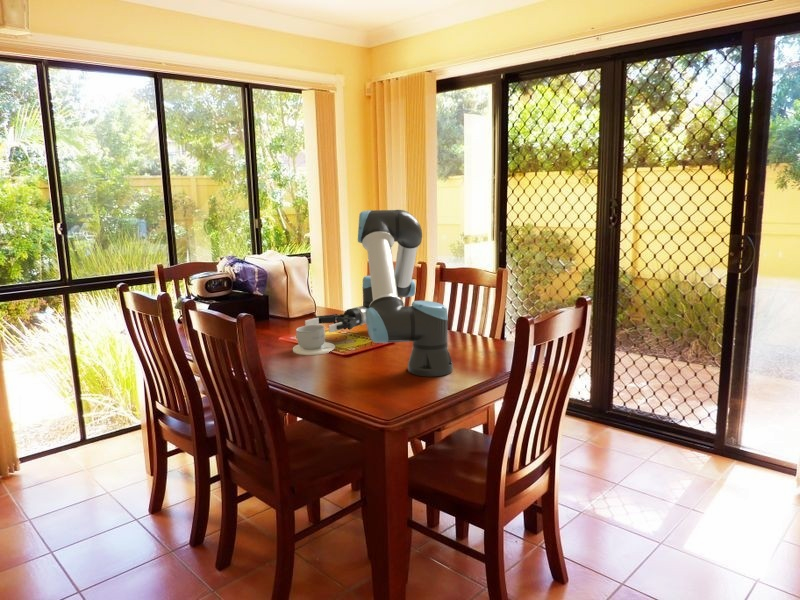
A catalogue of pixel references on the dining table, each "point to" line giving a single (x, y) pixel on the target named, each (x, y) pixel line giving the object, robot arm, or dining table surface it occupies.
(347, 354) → the dining table surface
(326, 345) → the saucer
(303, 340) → the teacup
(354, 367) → the dining table surface
